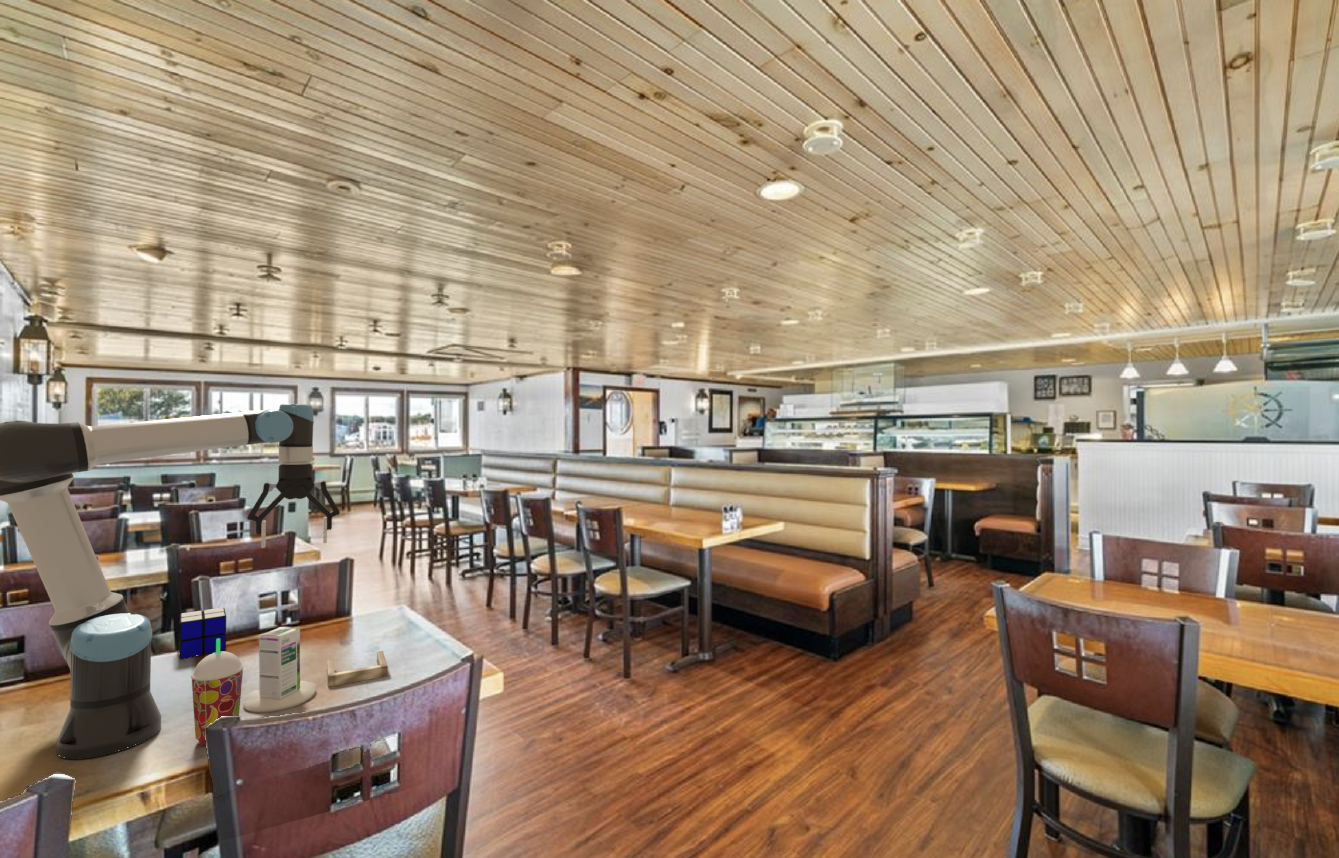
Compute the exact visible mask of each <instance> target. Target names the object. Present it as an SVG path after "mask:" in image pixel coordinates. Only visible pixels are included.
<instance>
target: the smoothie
mask: <svg viewBox="0 0 1339 858" xmlns="http://www.w3.org/2000/svg"><path fill="white" fill-rule="evenodd" d="M243 671H244V664H243V663H242V662H241V660H240V658H239V657H238V656H237V655H235V654H234V653H232V652H230V651H227V650H226V651H220V638H218V639H216V652H215V653H212V654H207V655H206V656H205V657H204V658H202V659H201V660H200V661H199V662H198V663H197V664H196V667H195V669H194V671H193V672H192V673H191V675H190V678H191V689H192V691H191V692H192V704H193V718H194V719H193V720H194V732H195V735H194V736H195V739H196V740H197V741H198V743H199V745H200V744H202V745H201V746H205V747H207V746H206V740H205V729H206V727H207V726H208V725H209V724H210V723H213V722H214V721H215V720H216V719H218V718H220V717H221V716H239V717H240V710H241V709H240V708H241V697H242V696H241V695H242V686H243V684H242V683H243Z"/></svg>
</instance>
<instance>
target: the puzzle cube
mask: <svg viewBox="0 0 1339 858" xmlns="http://www.w3.org/2000/svg"><path fill="white" fill-rule="evenodd" d="M178 638H179V640H178V641H179V653H180V654H179V653H178V654H179V655H178V658H179V659H180V660H183V659H184V658H185V659H190V658H189V657H191V658H195V657H194V656H196V655H202V654H203V655H204V654H207V655H210V653H215V652H216V639H218V638H220V651H226V652H227V613H226V609H225V607H217V608H211V609H209V608H208V609H203V610H196V611H190V612H183V613H180V614H179V637H178ZM203 655H202V656H203ZM196 657H197V656H196ZM185 659H184V660H185Z"/></svg>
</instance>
